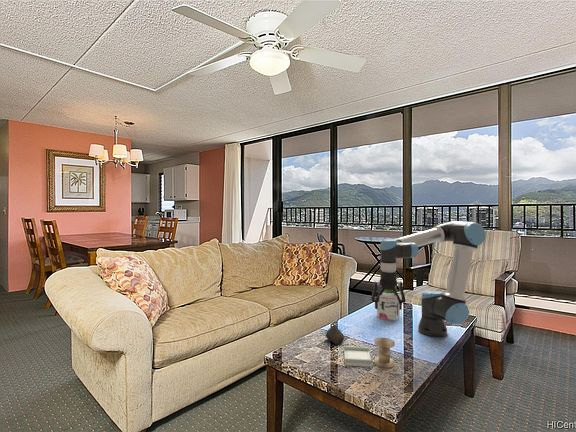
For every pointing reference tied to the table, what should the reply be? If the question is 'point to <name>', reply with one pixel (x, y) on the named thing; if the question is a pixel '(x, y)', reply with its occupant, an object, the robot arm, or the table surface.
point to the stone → (335, 335)
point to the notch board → (357, 356)
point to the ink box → (388, 306)
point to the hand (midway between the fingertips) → (388, 315)
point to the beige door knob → (384, 352)
